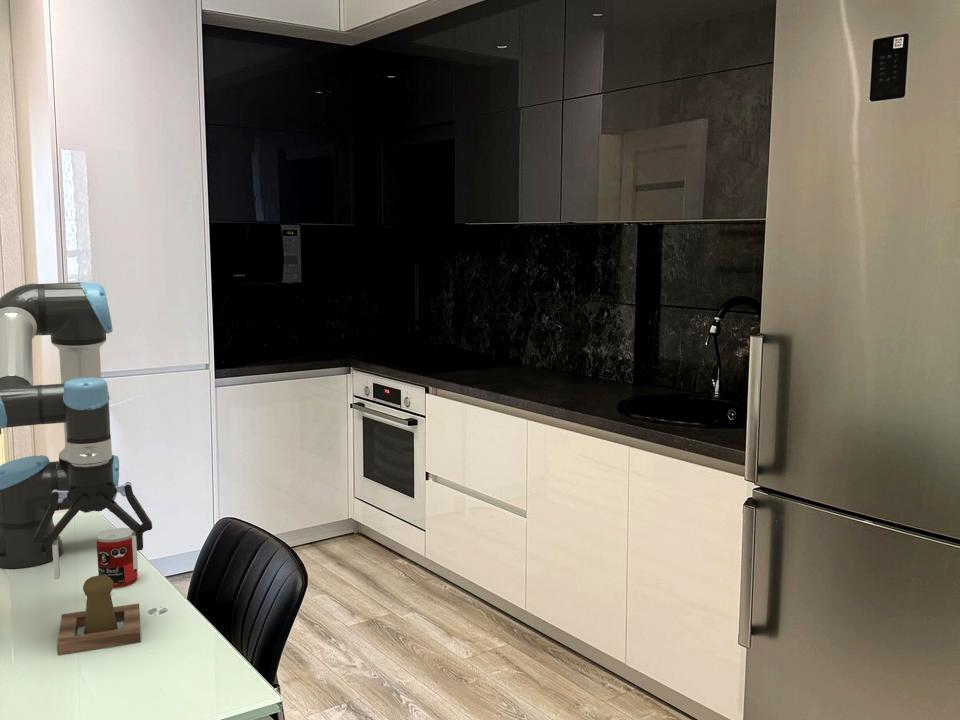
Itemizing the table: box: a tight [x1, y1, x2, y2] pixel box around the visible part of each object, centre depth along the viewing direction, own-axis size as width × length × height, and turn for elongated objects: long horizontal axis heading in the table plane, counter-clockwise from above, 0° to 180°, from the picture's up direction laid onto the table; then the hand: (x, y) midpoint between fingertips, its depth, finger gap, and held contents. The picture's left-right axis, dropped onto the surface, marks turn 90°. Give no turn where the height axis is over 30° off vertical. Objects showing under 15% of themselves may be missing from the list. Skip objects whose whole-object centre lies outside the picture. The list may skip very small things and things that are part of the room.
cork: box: [82, 574, 119, 635], centre depth 167 cm, size 6×6×11 cm
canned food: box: [95, 527, 139, 589], centre depth 192 cm, size 8×8×11 cm
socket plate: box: [56, 603, 142, 656], centre depth 168 cm, size 14×14×2 cm
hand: (97, 571), depth 166 cm, fingers open, 13 cm apart
